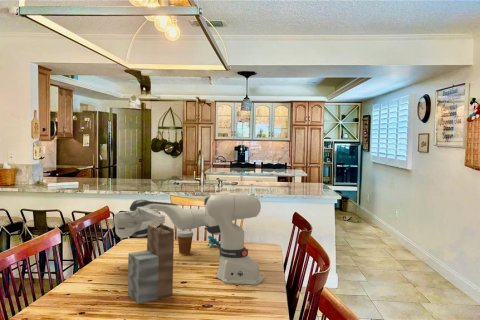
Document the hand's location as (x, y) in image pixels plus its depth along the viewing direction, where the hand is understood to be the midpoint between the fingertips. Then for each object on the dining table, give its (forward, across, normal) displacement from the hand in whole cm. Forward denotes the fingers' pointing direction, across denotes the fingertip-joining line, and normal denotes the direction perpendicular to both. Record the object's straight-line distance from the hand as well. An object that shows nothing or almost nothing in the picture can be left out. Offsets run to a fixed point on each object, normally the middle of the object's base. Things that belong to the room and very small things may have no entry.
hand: (143, 210), depth 164 cm
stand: (-1, +3, -36) cm, 36 cm away
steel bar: (+5, 0, -6) cm, 8 cm away
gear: (-40, -58, -14) cm, 72 cm away
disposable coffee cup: (-40, -38, -14) cm, 56 cm away
